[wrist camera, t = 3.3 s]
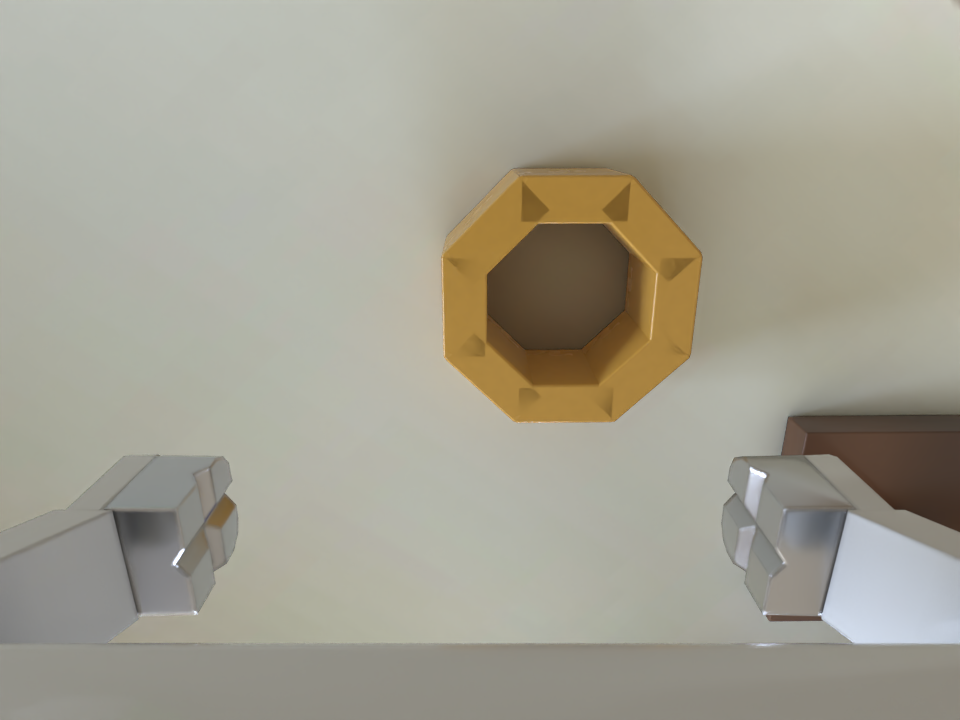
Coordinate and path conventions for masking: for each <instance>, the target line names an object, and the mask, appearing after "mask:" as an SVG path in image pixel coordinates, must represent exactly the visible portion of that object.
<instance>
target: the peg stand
mask: <svg viewBox="0 0 960 720" xmlns="http://www.w3.org/2000/svg"><path fill="white" fill-rule="evenodd" d="M824 454H829V455H833V456H836V457H838V458H839V459H840V460H841V461H842V462H843V463H844V464H845V465H847V466H848V467H849V468H850V469H851V470H852V471H853V472H854V473H855V474H856V475H857V476H858V477H860V478H861V479H862V480H863V481H864V482H865V483H866V484H867V485H868V486H869V487H870V488H872V489H873V490H874V491H875V492H876V493H877V494H878V495H879V496H880V497H881V498H882V499H883V500H885V501H886V502H887V503H888V504H889V505H890V506H891V507H892V508H893V509H894V510H907V511H909V512H911V513H914V514H916V515H919V516H921V517H924V518H926V519H928V520H931V521H933V522H936V523H938V524H941V525H943V526H946V527H948V528H950V529H953V530H955V531H958V532H960V415H917V416H793V417H788V422H787V427H786V433H785V438H784V443H783V449H782V454H781V456H785V455H824ZM766 617H767V618H768V620H769V621H823V620H822V619H821V618H822V616H792V615H766Z"/></svg>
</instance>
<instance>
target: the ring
mask: <svg viewBox="0 0 960 720" xmlns="http://www.w3.org/2000/svg"><path fill="white" fill-rule="evenodd" d="M538 224H603V225H604V226H605V227H606V228H607V229H608V230H609V231H610V233H611V234H612V235H613V236H614V237H615V238H616V239H617V240H618V241H619V242H620V243H621V244H622V246H623V247H624V248H625V249H626V250H627V251H628V252H629V262H628V275H627V287H626V299H625V310H624V311H623V312H622V313H621V314H620V315H619V316H618V317H617V318H615V319H614V320H613V321H612V322H611V323H610V324H609V325H608V326H607V327H606V328H604V329H603V330H602V331H601V332H600V333H599V334H598V335H597V336H596V337H594V338H593V339H592V340H591V341H590V342H589V343H588V344H587V345H586V346H584V347H583V348H582V349H578V350H525V349H524V348H523V347H522V346H521V345H519V344H518V343H517V342H516V341H515V340H514V339H513V338H512V337H511V336H510V335H509V334H508V333H507V332H506V331H505V330H504V329H503V328H502V327H501V326H500V325H499V324H498V323H497V322H495V321H494V320H493V319H492V318H491V317H490V316H489V315H488V314H487V274H488V273H489V272H490V271H491V270H492V269H493V268H494V267H495V266H496V265H497V264H498V263H499V262H500V261H501V260H502V259H503V258H504V257H505V256H506V255H507V254H508V253H509V252H510V251H511V250H512V249H513V248H514V247H515V246H516V245H517V244H518V243H519V242H520V241H521V240H522V239H523V238H524V237H525V236H526V235H527V234H528V233H529V232H530V231H531V230H533V229H534V228H535V227H536V226H537V225H538ZM441 266H442V308H443V349H444V358H445V359H446V360H447V361H448V362H449V363H450V364H451V365H452V366H453V367H454V368H456V369H457V370H458V371H459V372H460V373H461V374H462V375H463V376H464V377H465V378H467V379H468V380H469V381H470V382H471V383H472V384H473V385H474V386H475V387H476V388H478V389H479V390H480V391H481V392H482V393H483V394H484V395H485V396H486V397H487V398H488V399H490V400H491V401H492V402H493V403H494V404H495V405H496V406H497V407H498V408H499V409H501V410H502V411H503V412H504V413H505V414H506V415H507V416H508V417H509V418H510V419H512V420H513V421H514V422H517V423H557V422H614V421H616V420H617V419H618V418H619V417H620V416H622V415H623V414H624V413H625V412H626V411H627V410H629V409H630V408H631V407H632V406H633V405H634V404H636V403H637V402H638V401H639V400H640V399H641V398H643V397H644V396H645V395H646V394H647V393H649V392H650V391H651V390H652V389H653V388H654V387H656V386H657V385H658V384H659V383H660V382H661V381H663V380H664V379H665V378H666V377H667V376H668V375H670V374H671V373H672V372H673V371H674V370H675V369H677V368H678V367H679V366H680V365H681V364H683V363H684V362H685V361H686V360H687V359H688V358H689V357H690V354H691V348H692V340H693V332H694V323H695V315H696V307H697V299H698V290H699V282H700V274H701V266H702V254H701V252H700V250H699V249H698V248H697V247H696V246H695V245H694V244H693V242H692V241H691V240H690V239H689V238H688V237H687V236H686V235H685V233H684V232H683V231H682V230H681V229H680V228H679V227H678V225H677V224H676V223H675V222H674V221H673V220H672V219H671V218H670V216H669V215H668V214H667V213H666V212H665V211H664V210H663V208H662V207H661V206H660V205H659V204H658V203H657V202H656V201H655V199H654V198H653V197H652V196H651V195H650V194H649V193H648V191H647V190H646V189H645V188H644V187H643V186H642V185H641V183H640V182H639V181H638V180H637V179H636V178H635V177H634V176H632V175H629V174H626V173H622V172H619V171H615V170H612V169H608V168H514V169H512V170H510V171H509V172H508V173H507V174H506V176H505V177H504V178H503V179H502V180H501V181H500V182H499V183H498V184H497V185H496V186H495V187H494V188H493V189H492V190H491V191H490V192H489V193H488V194H487V195H486V196H485V197H484V198H483V199H482V200H481V201H480V202H479V203H478V204H477V205H476V207H475V208H474V209H473V210H472V211H471V212H470V213H469V214H468V215H467V216H466V217H465V218H464V219H463V220H462V221H461V222H460V223H459V224H458V225H457V226H456V227H455V228H454V229H453V230H452V231H451V232H450V233H449V234H448V235H447V237H446V240H445V244H444V249H443V253H442V257H441Z"/></svg>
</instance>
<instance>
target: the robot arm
mask: <svg viewBox="0 0 960 720" xmlns="http://www.w3.org/2000/svg"><path fill="white" fill-rule="evenodd" d="M231 482H232V476H231V472H230V467H229V462H228V461H227V460H226V459H225V458H224V457H223V456H183V455H158V454H156V455H129V456H123V457H122V458H121V459H120V460H119V461H118V462H117V463H116V464H115V465H114V466H113V467H111V468H110V469H109V470H108V471H107V472H106V473H105V474H104V475H103V476H102V477H101V478H99V479H98V480H97V481H96V482H95V483H94V484H93V485H92V486H91V487H90V488H89V489H88V490H86V491H85V492H84V493H83V494H82V495H81V496H80V497H79V498H78V499H77V500H76V501H74V502H73V503H72V504H71V505H70V506H69V507H68V508H67V509H66V510H53V511H51V512H49V513H46V514H44V515H41V516H39V517H36V518H34V519H31V520H29V521H27V522H24V523H22V524H19V525H17V526H14V527H12V528H9V529H7V530H5V531H2V532H0V720H960V532H958V531H955V530H953V529H950V528H948V527H946V526H943V525H941V524H938V523H936V522H933V521H931V520H928V519H926V518H924V517H921V516H919V515H916V514H914V513H911V512H909V511H907V510H894V509H893V508H892V507H891V506H890V505H889V504H888V503H887V502H886V501H885V500H883V499H882V498H881V497H880V496H879V495H878V494H877V493H876V492H875V491H874V490H873V489H872V488H870V487H869V486H868V485H867V484H866V483H865V482H864V481H863V480H862V479H861V478H860V477H858V476H857V475H856V474H855V473H854V472H853V471H852V470H851V469H850V468H849V467H848V466H847V465H845V464H844V463H843V462H842V461H841V460H840V459H839V458H838V457H836V456H833V455H829V454H824V455H785V456H743V457H736V458H734V460H733V462H732V464H731V466H730V470H729V476H728V482H729V484H730V485H731V487H732V488H733V490H734V491H735V494H734V495H733V496H732V497H731V498H730V499H729V500H728V501H727V502H726V503H725V504H724V507H723V515H722V534H723V541H724V544H725V548H726V551H727V553H728V555H729V557H730V559H731V560H732V562H733V564H735V565H737V566H738V567H740V568H741V569H743V570H745V571H746V577H745V585H746V587H747V588H748V590H749V592H750V593H751V595H752V597H753V599H754V600H755V602H756V604H757V605H758V607H759V609H760V610H761V612H762V614H763V615H792V616H822V618H821V619H822V620H823V621H825V622H826V623H827V624H829V625H830V626H831V627H833V628H834V629H835V630H837V631H838V632H839V633H841V634H842V635H843V636H845V637H846V638H847V639H849V640H850V641H851V642H853V643H107V642H109V641H110V640H111V639H113V638H114V637H115V636H117V635H118V634H119V633H121V632H122V631H123V630H125V629H126V628H127V627H129V626H130V625H131V624H133V623H134V622H135V621H137V620H138V619H139V618H138V616H167V615H197V614H198V612H199V611H200V609H201V607H202V605H203V604H204V602H205V600H206V599H207V597H208V595H209V593H210V592H211V590H212V588H213V587H214V585H215V577H214V571H215V570H217V569H219V568H220V567H222V566H223V565H225V564H227V562H228V560H229V559H230V557H231V555H232V553H233V551H234V548H235V544H236V539H237V535H238V513H237V506H236V504H235V503H234V502H233V501H232V500H231V499H230V498H229V497H228V496H227V495H226V494H225V491H226V490H227V488H228V487H229V485H230V484H231Z"/></svg>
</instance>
